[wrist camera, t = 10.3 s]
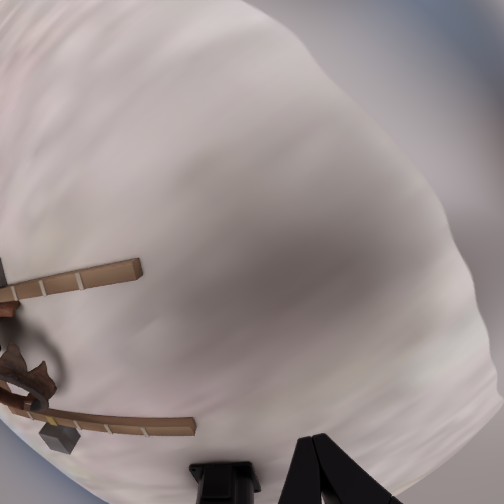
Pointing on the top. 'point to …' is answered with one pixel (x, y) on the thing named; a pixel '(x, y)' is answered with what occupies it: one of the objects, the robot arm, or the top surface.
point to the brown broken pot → (23, 374)
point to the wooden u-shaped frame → (64, 423)
